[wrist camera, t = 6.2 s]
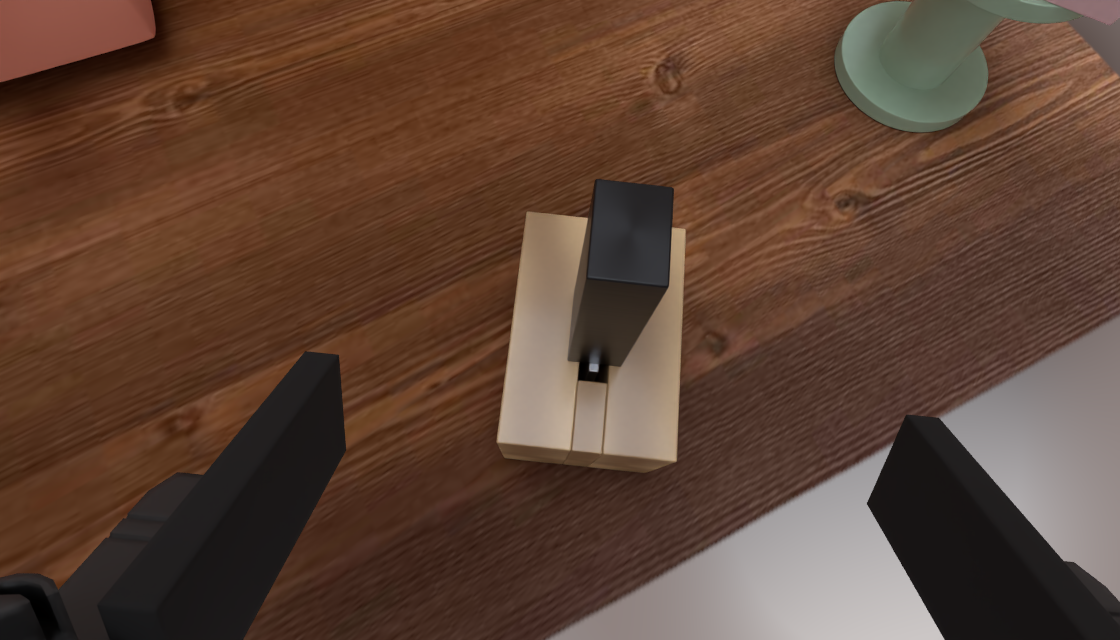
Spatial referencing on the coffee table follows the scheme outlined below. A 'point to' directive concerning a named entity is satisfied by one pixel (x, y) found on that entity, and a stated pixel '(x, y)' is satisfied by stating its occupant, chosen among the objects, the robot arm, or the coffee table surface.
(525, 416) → the knife block
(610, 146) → the coffee table surface
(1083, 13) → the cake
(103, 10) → the teapot
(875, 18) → the cake stand
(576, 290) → the knife
